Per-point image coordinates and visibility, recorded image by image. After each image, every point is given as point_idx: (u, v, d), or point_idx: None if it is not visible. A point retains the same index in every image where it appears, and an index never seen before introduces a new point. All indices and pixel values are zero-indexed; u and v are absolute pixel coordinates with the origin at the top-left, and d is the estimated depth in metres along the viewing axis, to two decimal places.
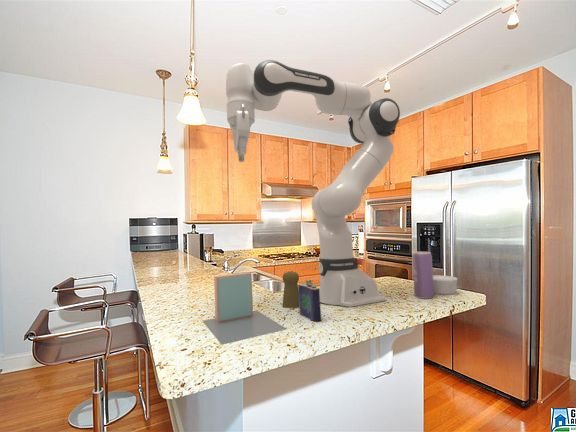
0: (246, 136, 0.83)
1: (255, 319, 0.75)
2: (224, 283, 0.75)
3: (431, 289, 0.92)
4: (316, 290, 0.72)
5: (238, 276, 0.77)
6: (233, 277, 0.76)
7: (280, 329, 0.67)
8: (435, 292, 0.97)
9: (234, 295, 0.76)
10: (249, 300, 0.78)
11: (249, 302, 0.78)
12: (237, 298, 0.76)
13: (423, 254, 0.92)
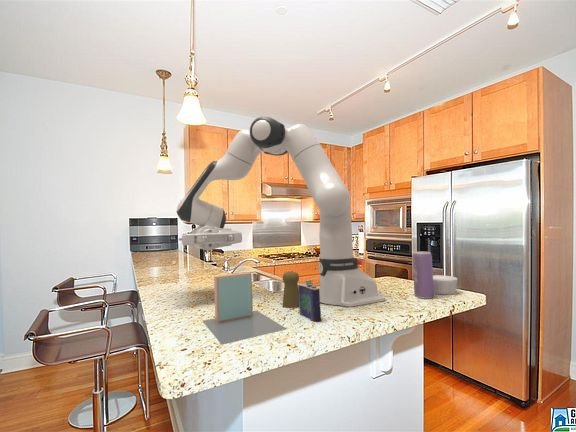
0: (192, 236, 0.91)
1: (255, 319, 0.75)
2: (224, 283, 0.75)
3: (431, 289, 0.92)
4: (316, 290, 0.72)
5: (238, 276, 0.77)
6: (233, 277, 0.76)
7: (280, 329, 0.67)
8: (435, 292, 0.97)
9: (234, 295, 0.76)
10: (249, 300, 0.78)
11: (249, 302, 0.78)
12: (237, 298, 0.76)
13: (423, 254, 0.92)
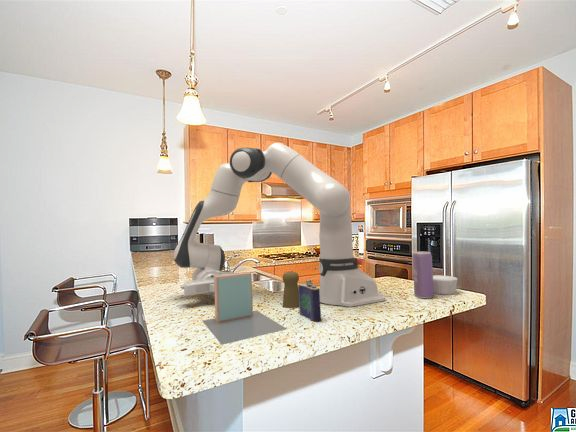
0: (194, 286, 0.90)
1: (255, 319, 0.75)
2: (224, 283, 0.75)
3: (431, 289, 0.92)
4: (316, 290, 0.72)
5: (238, 276, 0.77)
6: (233, 277, 0.76)
7: (280, 329, 0.67)
8: (435, 292, 0.97)
9: (234, 295, 0.76)
10: (249, 300, 0.78)
11: (249, 302, 0.78)
12: (237, 298, 0.76)
13: (423, 254, 0.92)
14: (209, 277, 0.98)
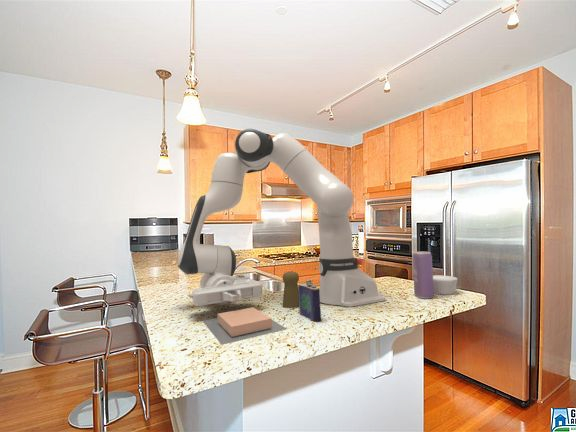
0: (205, 295, 0.76)
1: None
2: None
3: (431, 289, 0.92)
4: (316, 290, 0.72)
5: (256, 331, 0.66)
6: (250, 332, 0.66)
7: (280, 329, 0.67)
8: (435, 292, 0.97)
9: None
10: None
11: None
12: None
13: (423, 254, 0.92)
14: (221, 284, 0.85)
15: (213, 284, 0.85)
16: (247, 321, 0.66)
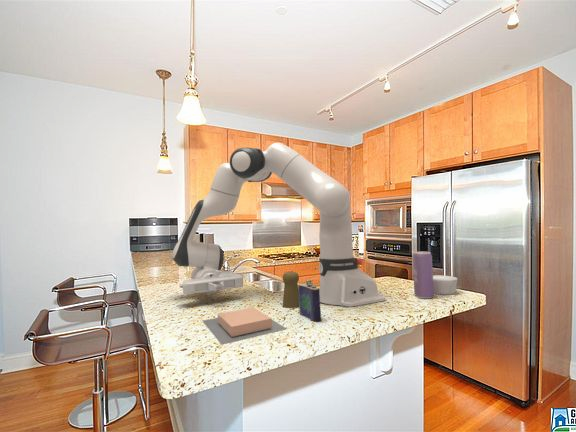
0: (193, 285, 0.90)
1: None
2: None
3: (431, 289, 0.92)
4: (316, 290, 0.72)
5: (256, 331, 0.66)
6: (250, 332, 0.66)
7: (280, 329, 0.67)
8: (435, 292, 0.97)
9: None
10: None
11: None
12: None
13: (423, 254, 0.92)
14: (208, 276, 0.98)
15: (201, 276, 0.99)
16: (247, 321, 0.66)
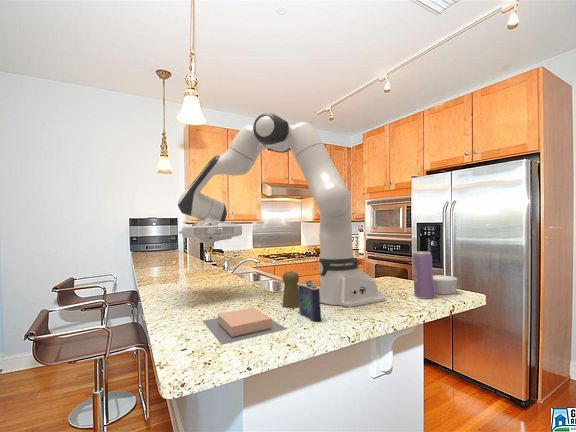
0: (192, 229, 0.91)
1: None
2: None
3: (431, 289, 0.92)
4: (316, 290, 0.72)
5: (256, 331, 0.66)
6: (250, 332, 0.66)
7: (280, 329, 0.67)
8: (435, 292, 0.97)
9: None
10: None
11: None
12: None
13: (423, 254, 0.92)
14: (207, 224, 0.99)
15: (200, 225, 1.00)
16: (247, 321, 0.66)
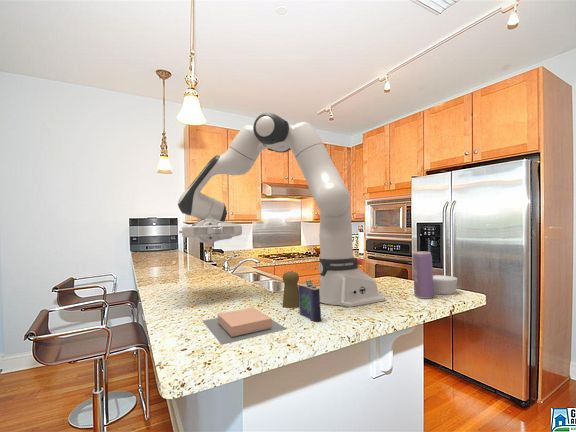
0: (192, 228, 0.91)
1: None
2: None
3: (431, 289, 0.92)
4: (316, 290, 0.72)
5: (256, 331, 0.66)
6: (250, 332, 0.66)
7: (280, 329, 0.67)
8: (435, 292, 0.97)
9: None
10: None
11: None
12: None
13: (423, 254, 0.92)
14: (207, 224, 0.99)
15: (200, 225, 1.00)
16: (247, 321, 0.66)
